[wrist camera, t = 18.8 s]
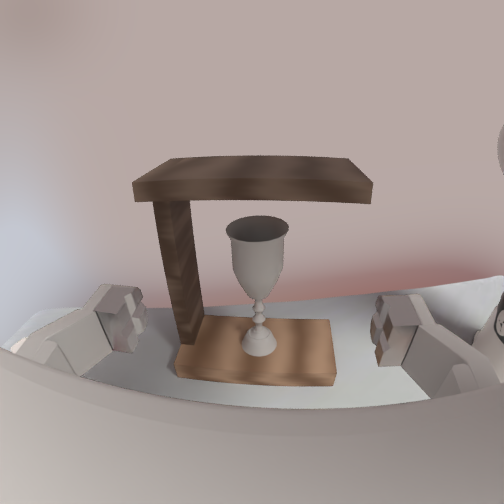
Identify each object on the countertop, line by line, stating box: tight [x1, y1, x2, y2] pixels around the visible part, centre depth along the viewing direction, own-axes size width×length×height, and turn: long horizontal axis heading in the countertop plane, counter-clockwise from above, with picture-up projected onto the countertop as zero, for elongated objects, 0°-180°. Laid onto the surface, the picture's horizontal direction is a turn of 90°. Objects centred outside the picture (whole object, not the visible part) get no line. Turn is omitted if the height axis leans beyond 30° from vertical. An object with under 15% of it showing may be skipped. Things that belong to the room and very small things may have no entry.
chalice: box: [226, 216, 289, 357], centre depth 37 cm, size 7×7×18 cm
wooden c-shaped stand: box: [132, 156, 373, 386], centre depth 37 cm, size 22×11×28 cm, turn 84°
